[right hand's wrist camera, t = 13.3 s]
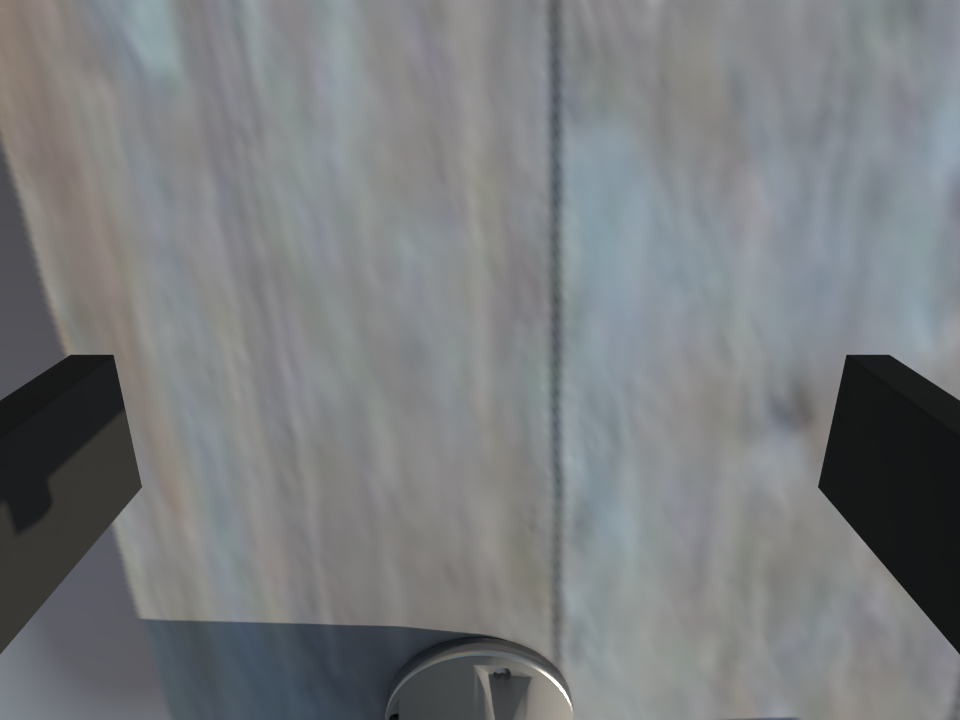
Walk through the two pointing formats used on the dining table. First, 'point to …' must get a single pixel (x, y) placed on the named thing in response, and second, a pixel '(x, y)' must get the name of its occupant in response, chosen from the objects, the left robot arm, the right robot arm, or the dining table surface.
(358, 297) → the dining table surface
